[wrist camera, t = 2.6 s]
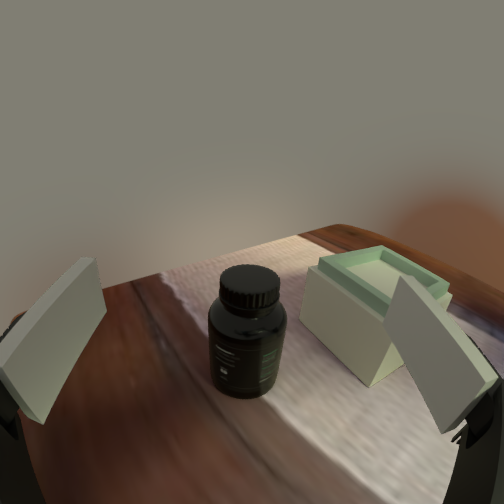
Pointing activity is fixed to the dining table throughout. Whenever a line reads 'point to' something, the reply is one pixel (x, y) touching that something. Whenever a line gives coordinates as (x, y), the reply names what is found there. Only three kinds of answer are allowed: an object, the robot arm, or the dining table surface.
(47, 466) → the dining table surface
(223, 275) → the supplement bottle
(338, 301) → the riser
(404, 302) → the robot arm
